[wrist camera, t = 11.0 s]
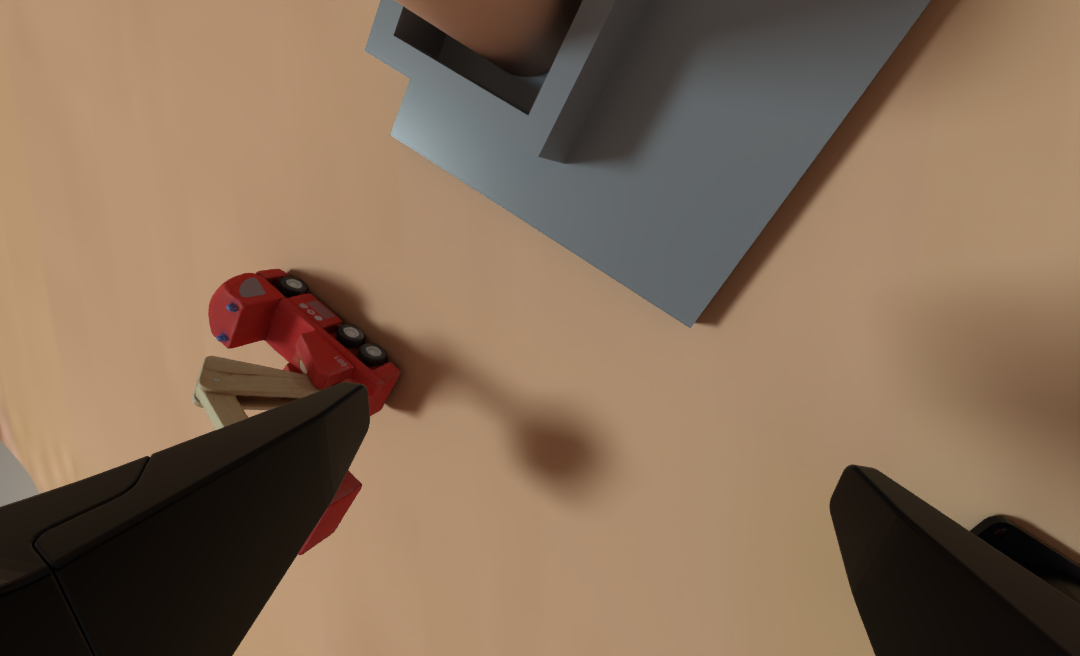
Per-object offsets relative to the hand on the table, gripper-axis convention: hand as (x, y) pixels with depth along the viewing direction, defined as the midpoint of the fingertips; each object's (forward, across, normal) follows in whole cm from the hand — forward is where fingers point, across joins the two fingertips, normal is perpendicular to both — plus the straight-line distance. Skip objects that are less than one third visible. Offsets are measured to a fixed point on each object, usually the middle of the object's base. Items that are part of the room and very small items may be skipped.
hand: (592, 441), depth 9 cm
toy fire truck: (+15, +13, +8) cm, 22 cm away
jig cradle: (+14, +1, -7) cm, 16 cm away
